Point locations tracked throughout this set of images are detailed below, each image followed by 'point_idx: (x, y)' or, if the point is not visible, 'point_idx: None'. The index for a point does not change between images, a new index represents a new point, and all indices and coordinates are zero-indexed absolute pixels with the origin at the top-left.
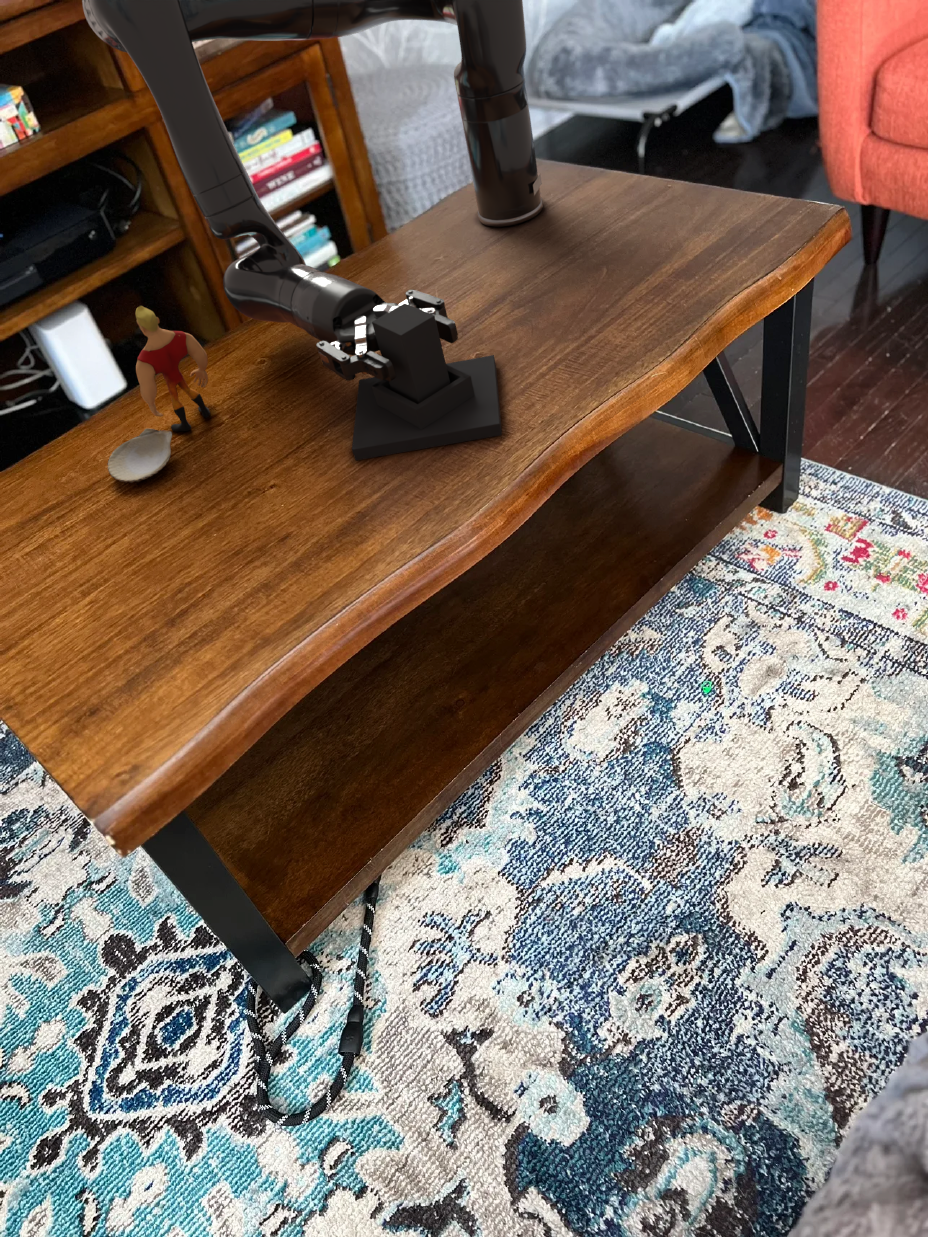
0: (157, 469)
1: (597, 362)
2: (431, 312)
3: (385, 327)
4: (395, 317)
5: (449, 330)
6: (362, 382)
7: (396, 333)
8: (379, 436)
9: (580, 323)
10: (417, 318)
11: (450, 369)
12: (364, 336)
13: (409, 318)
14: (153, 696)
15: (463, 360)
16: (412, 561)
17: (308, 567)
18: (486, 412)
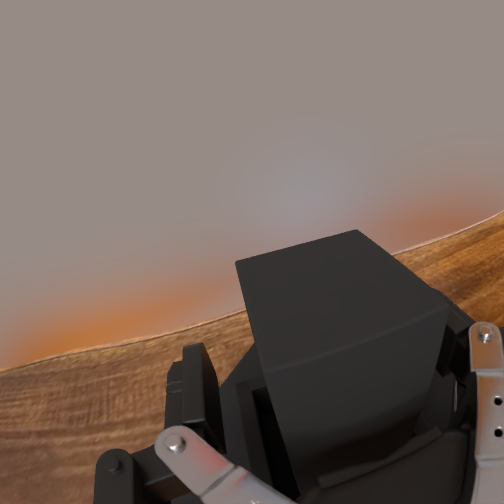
0: None
1: (81, 394)
2: (181, 426)
3: (396, 261)
4: (350, 293)
5: (206, 353)
6: None
7: (366, 236)
8: (442, 381)
9: (17, 464)
10: (283, 264)
11: (251, 425)
12: (481, 373)
13: (305, 271)
14: None
15: None
16: (410, 248)
17: (496, 260)
18: (258, 362)
